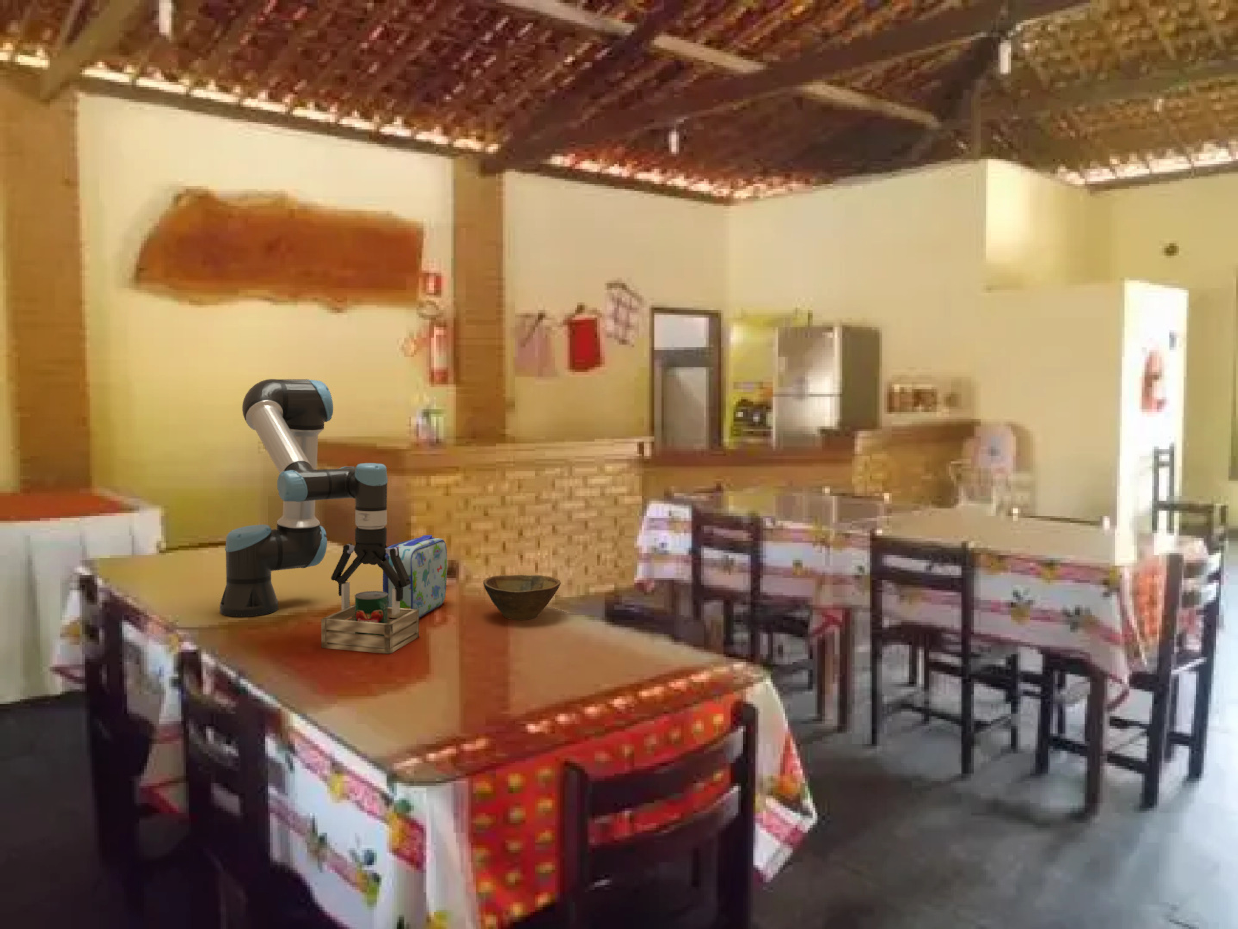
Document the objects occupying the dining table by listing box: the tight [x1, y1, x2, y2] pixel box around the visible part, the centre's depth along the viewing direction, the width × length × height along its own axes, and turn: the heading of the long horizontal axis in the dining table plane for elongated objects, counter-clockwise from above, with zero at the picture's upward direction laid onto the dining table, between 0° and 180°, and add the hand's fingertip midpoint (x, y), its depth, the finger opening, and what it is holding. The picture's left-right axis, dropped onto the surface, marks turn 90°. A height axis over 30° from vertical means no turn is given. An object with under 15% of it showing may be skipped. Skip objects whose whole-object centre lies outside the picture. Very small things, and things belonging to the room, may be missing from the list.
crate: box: [320, 604, 420, 655], centre depth 234 cm, size 18×16×7 cm
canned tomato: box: [354, 590, 389, 636], centre depth 234 cm, size 8×8×11 cm
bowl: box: [482, 574, 561, 621], centre depth 263 cm, size 22×23×10 cm
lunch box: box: [382, 534, 448, 619], centre depth 265 cm, size 26×11×21 cm, turn 168°
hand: (370, 611), depth 234 cm, fingers open, 13 cm apart
